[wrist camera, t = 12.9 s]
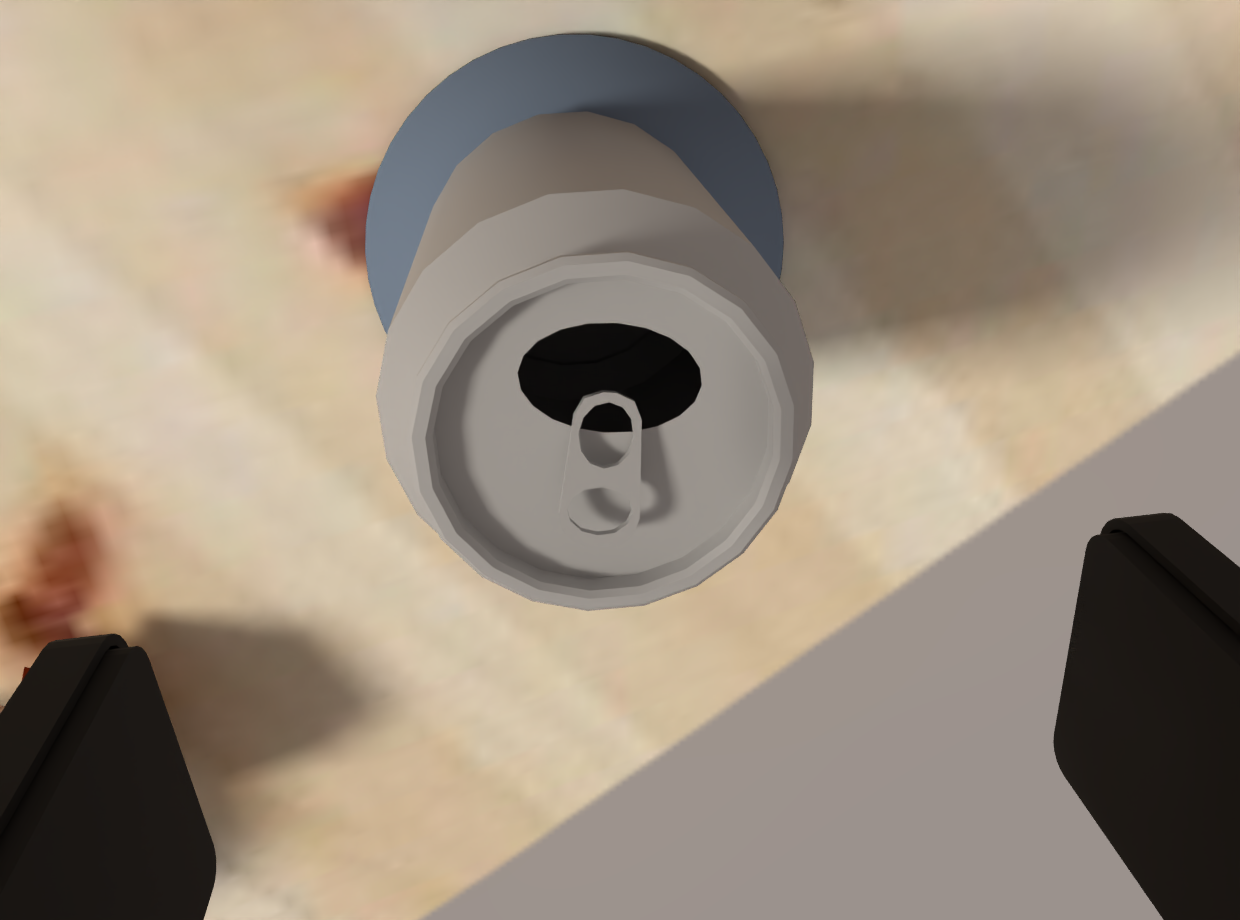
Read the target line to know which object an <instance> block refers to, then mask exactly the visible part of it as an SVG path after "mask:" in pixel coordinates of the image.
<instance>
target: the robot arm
mask: <svg viewBox="0 0 1240 920" xmlns="http://www.w3.org/2000/svg"><path fill="white" fill-rule="evenodd" d="M1054 751H1055V755H1056V759H1057V762H1058V765H1059V767H1060V769H1061V771H1062V773H1063V775H1064V776H1065V778H1066V779H1067V781H1068V782H1069V783H1070V785H1071V786H1072V788H1073V789H1074V791H1075V792H1076V794H1077V795H1078V796H1079V798H1080V799H1081V801H1082V802H1083V804H1084V805H1085V806H1086V808H1087V810H1088V811H1089V812H1090V814H1091V815H1092V817H1093V818H1094V820H1095V821H1096V823H1097V824H1098V825H1099V827H1100V828H1101V830H1102V831H1103V833H1104V834H1105V835H1106V837H1107V838H1108V840H1109V841H1110V843H1111V844H1112V846H1113V847H1114V849H1115V850H1116V851H1117V853H1118V854H1119V855H1120V857H1121V859H1122V860H1123V862H1124V863H1125V865H1126V866H1127V867H1128V869H1129V870H1130V872H1131V873H1132V875H1133V876H1134V878H1135V879H1136V880H1137V882H1138V883H1139V885H1140V886H1141V888H1142V889H1143V891H1144V892H1145V893H1146V895H1147V896H1148V898H1149V899H1150V901H1151V902H1152V904H1153V905H1154V906H1155V908H1156V909H1157V911H1158V912H1159V914H1160V915H1161V916H1162V918H1163V919H1164V920H1240V567H1238V566H1237V565H1236V564H1235V563H1234V562H1232V561H1231V560H1230V559H1229V558H1228V557H1226V556H1225V555H1224V554H1223V553H1222V552H1220V551H1219V550H1218V549H1217V548H1216V547H1214V546H1213V545H1212V544H1210V543H1209V542H1208V541H1207V540H1206V539H1204V538H1203V537H1202V536H1201V535H1200V534H1198V533H1197V532H1196V531H1195V530H1194V529H1192V528H1191V527H1190V526H1189V525H1187V524H1186V523H1185V522H1184V521H1183V520H1181V519H1180V518H1179V517H1177V516H1175V515H1173V514H1171V513H1159V514H1150V515H1142V516H1133V517H1124V518H1115V519H1112V520H1110V521H1108V522H1107V523H1106V524H1105V526H1104V527H1103V529H1102V531H1101V534H1100V535H1096V536H1093V537H1092V538H1091V539H1090V540H1089V542H1088V544H1087V548H1086V552H1085V557H1084V563H1083V569H1082V575H1081V581H1080V587H1079V592H1078V598H1077V604H1076V610H1075V615H1074V621H1073V627H1072V633H1071V639H1070V644H1069V650H1068V656H1067V662H1066V668H1065V674H1064V679H1063V685H1062V691H1061V697H1060V703H1059V709H1058V714H1057V720H1056V726H1055V732H1054ZM215 876H216V855H215V849H214V845H213V842H212V839H211V836H210V833H209V830H208V827H207V824H206V821H205V819H204V816H203V813H202V810H201V807H200V804H199V801H198V798H197V796H196V793H195V790H194V787H193V784H192V781H191V778H190V776H189V773H188V770H187V767H186V764H185V761H184V758H183V755H182V753H181V750H180V747H179V744H178V741H177V738H176V735H175V732H174V730H173V727H172V724H171V721H170V718H169V715H168V712H167V709H166V707H165V704H164V701H163V698H162V695H161V692H160V689H159V686H158V684H157V681H156V678H155V675H154V672H153V669H152V666H151V663H150V661H149V658H148V656H147V654H146V652H145V651H144V650H143V649H142V648H141V647H138V646H135V647H128V645H127V643H126V642H125V640H124V639H123V638H122V637H121V636H120V635H117V634H106V635H98V636H89V637H80V638H71V639H63V640H55V641H53V642H50V643H48V644H47V645H46V647H45V648H44V649H43V650H42V651H41V653H40V654H39V656H38V657H37V659H36V660H35V662H34V663H33V665H32V666H31V668H30V669H29V671H28V672H27V674H26V675H25V677H24V679H23V680H22V682H21V683H20V685H19V686H18V688H17V689H16V691H15V692H14V694H13V695H12V697H11V698H10V700H9V701H8V703H7V704H6V706H5V707H4V709H3V710H2V712H1V713H0V920H204V916H205V913H206V910H207V907H208V903H209V900H210V897H211V894H212V890H213V887H214V882H215Z"/></svg>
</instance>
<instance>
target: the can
mask: <svg viewBox="0 0 1240 920" xmlns="http://www.w3.org/2000/svg"><path fill="white" fill-rule="evenodd" d="M813 368H814V361H813V358H812V355H811V352H810V348H809V345H808V342H807V339H806V335H805V332H804V329H803V326H802V322H801V319H800V316H799V313H798V309H797V306H796V303H795V300H794V299H793V298H792V296H791V295H790V294H789V292H788V291H787V290H786V288H785V287H784V286H783V284H782V283H781V282H780V280H779V279H778V278H777V276H776V275H775V274H774V272H773V271H772V270H771V268H770V267H769V266H768V264H767V263H766V262H765V260H764V259H763V258H762V256H761V255H760V254H759V252H758V251H757V250H756V248H755V247H754V246H753V245H752V243H751V242H750V241H749V240H748V239H747V238H746V236H745V235H744V234H743V233H742V232H741V230H740V229H739V228H738V227H737V226H736V224H735V223H734V222H733V221H732V220H731V218H730V217H729V216H728V215H727V214H726V213H725V211H724V210H723V209H722V208H721V207H720V205H719V204H718V203H717V202H716V201H715V199H714V198H713V197H712V196H711V195H710V193H709V192H708V191H707V190H706V189H705V188H704V186H703V185H702V184H701V183H700V182H699V180H698V179H697V178H696V177H695V176H694V174H693V173H692V172H691V171H690V170H689V168H688V167H687V166H686V165H685V164H684V163H683V161H682V160H681V159H680V158H679V157H678V155H677V154H676V153H675V152H674V151H673V150H671V149H670V148H669V147H667V146H666V145H664V144H663V143H661V142H660V141H658V140H657V139H655V138H654V137H652V136H651V135H649V134H648V133H646V132H645V131H643V130H642V129H641V128H639V127H638V126H636V125H635V124H632V123H628V122H624V121H621V120H617V119H613V118H610V117H606V116H602V115H599V114H595V113H591V112H588V111H585V112H569V113H554V114H538V115H536V116H533V117H531V118H528V119H526V120H524V121H521V122H519V123H516V124H514V125H512V126H509V127H507V128H504V129H502V130H500V131H497V132H495V133H493V134H491V135H490V136H489V137H488V138H487V139H486V140H485V141H484V142H482V143H481V144H480V145H479V146H478V147H477V148H476V149H475V150H473V151H472V152H471V153H470V154H469V155H468V156H467V157H465V158H464V159H463V160H462V161H461V162H460V163H459V164H458V165H456V167H455V169H454V171H453V172H452V174H451V176H450V178H449V180H448V181H447V183H446V185H445V187H444V188H443V190H442V192H441V194H440V195H439V197H438V199H437V201H436V202H435V204H434V206H433V208H432V211H431V214H430V217H429V219H428V222H427V225H426V228H425V230H424V233H423V236H422V239H421V241H420V244H419V247H418V250H417V252H416V255H415V258H414V261H413V263H412V266H411V269H410V272H409V274H408V277H407V280H406V283H405V285H404V288H403V291H402V294H401V296H400V299H399V302H398V305H397V307H396V310H395V313H394V316H393V318H392V321H391V324H390V327H389V329H388V333H387V339H386V344H385V350H384V355H383V361H382V366H381V372H380V377H379V383H378V389H377V394H376V399H377V405H378V411H379V417H380V422H381V428H382V434H383V440H384V446H385V452H386V458H387V461H388V463H389V464H390V466H391V468H392V470H393V472H394V473H395V475H396V477H397V479H398V481H399V482H400V484H401V486H402V488H403V490H404V492H405V493H406V495H407V497H408V499H409V501H410V502H411V504H412V506H413V508H414V510H415V511H416V513H417V515H418V516H419V517H421V518H422V519H423V520H424V521H425V522H426V523H427V524H428V525H429V526H430V527H431V528H432V529H433V530H435V531H436V532H437V533H438V535H439V537H440V538H441V540H442V541H444V542H445V543H446V544H447V545H448V546H449V547H450V548H451V549H452V550H453V551H454V552H455V553H456V554H458V555H459V556H460V557H461V558H462V559H463V560H464V561H465V562H466V563H467V564H468V565H469V566H471V567H472V568H473V569H474V570H475V571H476V572H477V573H478V574H479V575H480V576H481V577H483V578H485V579H487V580H489V581H491V582H493V583H496V584H498V585H500V586H502V587H504V588H506V589H508V590H510V591H512V592H514V593H516V594H518V595H520V596H522V597H525V598H527V599H529V600H531V601H534V602H540V603H546V604H552V605H557V606H563V607H569V608H575V609H580V610H586V611H591V610H601V609H612V608H623V607H634V606H644V605H647V604H650V603H652V602H655V601H658V600H661V599H663V598H666V597H669V596H671V595H674V594H677V593H680V592H682V591H685V590H688V589H691V588H693V587H696V586H698V585H699V584H701V583H702V582H704V581H705V580H706V579H708V578H709V577H711V576H712V575H713V574H715V573H716V572H718V571H719V570H720V569H722V568H723V567H725V566H726V565H727V564H729V563H730V562H732V561H733V560H734V559H736V558H737V557H739V556H740V555H741V554H743V553H744V552H745V550H746V549H747V548H748V546H749V545H750V544H751V543H752V541H753V540H754V539H755V538H756V536H757V535H758V534H759V533H760V531H761V530H762V529H763V527H764V526H765V525H766V524H767V522H768V521H769V520H770V519H771V517H772V516H773V515H774V514H775V512H776V511H777V510H778V507H779V504H780V502H781V499H782V497H783V494H784V491H785V489H786V486H787V485H788V483H789V482H790V479H791V476H792V474H793V471H794V469H795V466H796V463H797V461H798V458H799V455H800V453H801V450H802V448H803V445H804V442H805V440H806V437H807V434H808V432H809V429H810V427H811V418H812V393H813Z"/></svg>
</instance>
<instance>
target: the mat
mask: <svg viewBox="0 0 1240 920" xmlns="http://www.w3.org/2000/svg"><path fill="white" fill-rule="evenodd" d="M585 111H588V112H591V113H595V114H599V115H602V116H606V117H610V118H613V119H617V120H621V121H624V122H628V123H632V124H635V125H636V126H638V127H639V128H641V129H642V130H643V131H645V132H646V133H648V134H649V135H651V136H652V137H654V138H655V139H657V140H658V141H660V142H661V143H663V144H664V145H666V146H667V147H669V148H670V149H671V150H673V151H674V152H675V153H676V154H677V155H678V157H679V158H680V159H681V160H682V161H683V163H684V164H685V165H686V166H687V167H688V168H689V170H690V171H691V172H692V173H693V174H694V176H695V177H696V178H697V179H698V180H699V182H700V183H701V184H702V185H703V186H704V188H705V189H706V190H707V191H708V192H709V193H710V195H711V196H712V197H713V198H714V199H715V201H716V202H717V203H718V204H719V205H720V207H721V208H722V209H723V210H724V211H725V213H726V214H727V215H728V216H729V217H730V218H731V220H732V221H733V222H734V223H735V224H736V226H737V227H738V228H739V229H740V230H741V232H742V233H743V234H744V235H745V236H746V238H747V239H748V240H749V241H750V242H751V243H752V245H753V246H754V247H755V248H756V250H757V251H758V252H759V254H760V255H761V256H762V258H763V259H764V260H765V262H766V263H767V264H768V266H769V267H770V268H771V270H772V271H773V272H774V274H775V275H776V276H777V278H778V279H779V280H780V275H781V270H782V257H783V243H784V241H783V225H782V213H781V208H780V203H779V198H778V193H777V188H776V185H775V182H774V179H773V176H772V173H771V170H770V167H769V164H768V162H767V160H766V158H765V156H764V154H763V152H762V150H761V148H760V146H759V144H758V141H757V139H756V138H755V136H754V135H753V133H752V132H751V130H750V129H749V127H748V126H747V124H746V123H745V121H744V120H743V118H742V117H741V115H740V114H739V113H738V112H737V111H736V110H735V108H734V107H733V106H732V105H731V104H730V103H729V102H728V101H727V100H726V98H725V97H724V96H723V95H722V94H721V93H720V92H719V91H718V90H716V89H715V88H714V87H713V86H712V85H710V84H709V83H708V82H707V81H706V80H704V79H703V78H702V77H701V76H700V75H698V74H697V73H695V72H694V71H692V70H691V69H689V68H687V67H686V66H684V65H683V64H681V63H679V62H678V61H676V60H675V59H673V58H671V57H668V56H666V55H664V54H662V53H659V52H657V51H655V50H653V49H650V48H648V47H646V46H643V45H639V44H636V43H632V42H629V41H625V40H622V39H618V38H612V37H604V36H597V35H590V34H558V35H551V36H545V37H538V38H531V39H527V40H523V41H520V42H517V43H513V44H510V45H507V46H503V47H500V48H498V49H496V50H494V51H492V52H489V53H487V54H485V55H483V56H481V57H479V58H476V59H474V60H473V61H471V62H469V63H468V64H466V65H465V66H463V67H462V68H460V69H459V70H457V71H456V72H454V73H452V74H451V75H449V76H448V77H447V78H446V79H445V80H444V81H442V82H441V83H440V84H439V85H438V86H437V87H435V88H434V89H433V90H432V91H431V92H430V93H429V94H427V95H426V97H425V98H424V99H423V100H422V101H421V102H420V103H419V105H418V106H417V107H416V108H415V109H414V110H413V112H412V113H411V114H410V115H409V116H408V117H407V119H406V120H405V122H404V123H403V125H402V126H401V128H400V130H399V131H398V133H397V134H396V136H395V137H394V139H393V140H392V142H391V144H390V146H389V148H388V150H387V152H386V154H385V157H384V159H383V161H382V163H381V165H380V167H379V170H378V173H377V176H376V180H375V183H374V186H373V189H372V193H371V196H370V202H369V208H368V215H367V221H366V245H365V253H366V262H367V271H368V280H369V284H370V288H371V292H372V296H373V300H374V304H375V307H376V309H377V312H378V314H379V317H380V320H381V322H382V325H383V327H384V330H385V332H386V334H387V333H388V329H389V327H390V324H391V321H392V318H393V316H394V313H395V310H396V307H397V305H398V302H399V299H400V296H401V294H402V291H403V288H404V285H405V283H406V280H407V277H408V274H409V272H410V269H411V266H412V263H413V261H414V258H415V255H416V252H417V250H418V247H419V244H420V241H421V239H422V236H423V233H424V230H425V228H426V225H427V222H428V219H429V217H430V214H431V211H432V208H433V206H434V204H435V202H436V201H437V199H438V197H439V195H440V194H441V192H442V190H443V188H444V187H445V185H446V183H447V181H448V180H449V178H450V176H451V174H452V172H453V171H454V169H455V167H456V165H458V164H459V163H460V162H461V161H462V160H463V159H464V158H465V157H467V156H468V155H469V154H470V153H471V152H472V151H473V150H475V149H476V148H477V147H478V146H479V145H480V144H481V143H482V142H484V141H485V140H486V139H487V138H488V137H489V136H490V135H491V134H493V133H495V132H497V131H500V130H502V129H504V128H507V127H509V126H512V125H514V124H516V123H519V122H521V121H524V120H526V119H528V118H531V117H533V116H536V115H538V114H554V113H569V112H585Z"/></svg>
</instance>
